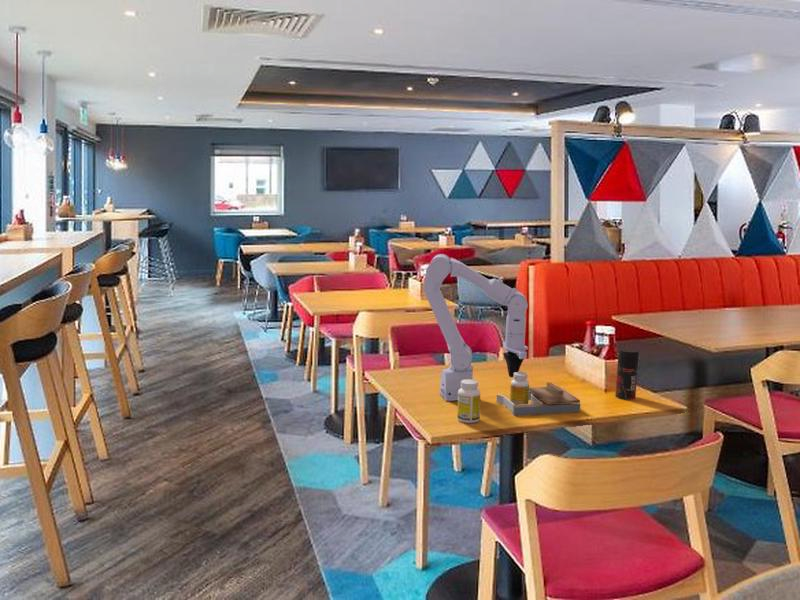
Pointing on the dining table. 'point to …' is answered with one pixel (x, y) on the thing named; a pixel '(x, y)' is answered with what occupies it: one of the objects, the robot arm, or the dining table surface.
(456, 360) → the robot arm
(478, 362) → the dining table surface
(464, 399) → the pill bottle
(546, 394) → the cover
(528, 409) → the socket
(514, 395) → the supplement bottle
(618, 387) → the deodorant
